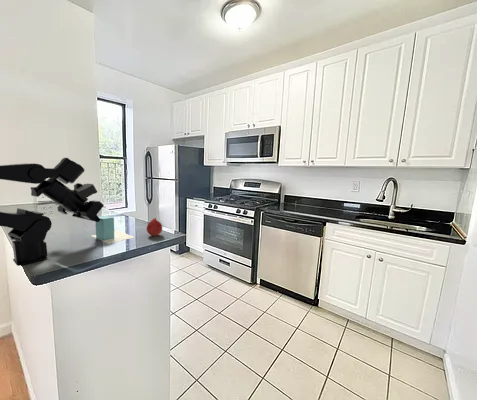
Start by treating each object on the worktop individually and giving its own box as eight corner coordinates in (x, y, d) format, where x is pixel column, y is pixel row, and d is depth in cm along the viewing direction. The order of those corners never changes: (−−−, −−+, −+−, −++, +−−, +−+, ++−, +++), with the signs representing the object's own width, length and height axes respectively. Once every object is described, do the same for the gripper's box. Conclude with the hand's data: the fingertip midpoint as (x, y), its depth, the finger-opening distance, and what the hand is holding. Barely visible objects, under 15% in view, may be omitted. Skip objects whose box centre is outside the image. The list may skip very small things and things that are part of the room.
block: (104, 240, 83) (103, 219, 82) (96, 238, 85) (95, 217, 84) (114, 237, 86) (113, 217, 85) (106, 235, 89) (105, 215, 88)
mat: (108, 245, 80) (108, 243, 80) (90, 237, 88) (90, 235, 88) (135, 238, 88) (135, 237, 88) (116, 231, 96) (116, 230, 96)
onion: (146, 239, 87) (145, 219, 85) (148, 235, 92) (147, 216, 91) (162, 238, 88) (161, 218, 87) (162, 234, 94) (162, 215, 92)
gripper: (95, 176, 72) (128, 205, 83) (64, 175, 80) (98, 201, 91) (70, 204, 66) (109, 231, 77) (39, 199, 74) (78, 224, 86)
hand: (98, 220), depth 83 cm, fingers closed
